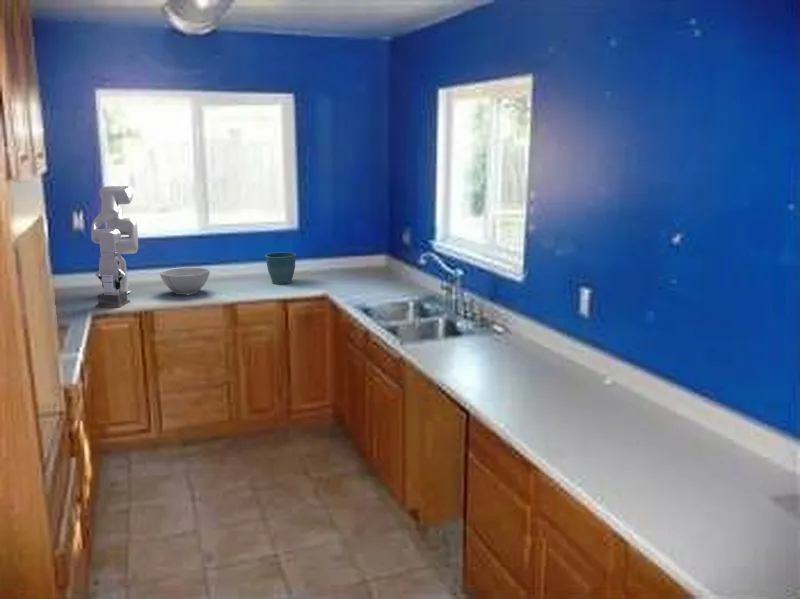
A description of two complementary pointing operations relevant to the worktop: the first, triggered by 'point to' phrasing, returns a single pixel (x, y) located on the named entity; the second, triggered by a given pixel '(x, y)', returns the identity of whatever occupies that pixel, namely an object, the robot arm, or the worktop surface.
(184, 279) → the decorative bowl
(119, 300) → the dark grey open box
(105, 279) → the syrup box
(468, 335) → the worktop surface
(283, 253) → the flower pot
